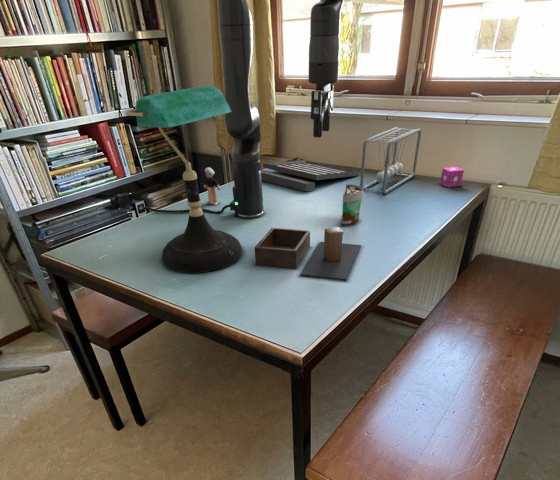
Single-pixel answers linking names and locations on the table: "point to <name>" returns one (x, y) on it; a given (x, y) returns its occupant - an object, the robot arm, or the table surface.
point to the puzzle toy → (451, 177)
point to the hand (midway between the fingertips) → (321, 134)
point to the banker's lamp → (190, 179)
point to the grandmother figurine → (211, 186)
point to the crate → (282, 256)
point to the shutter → (303, 173)
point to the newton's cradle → (394, 167)
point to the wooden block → (333, 244)
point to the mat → (331, 263)
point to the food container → (351, 204)
